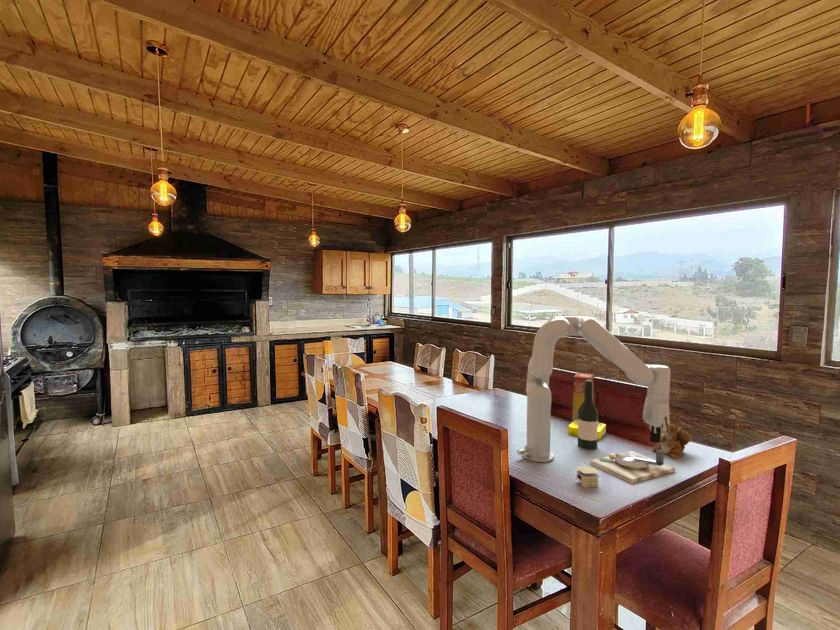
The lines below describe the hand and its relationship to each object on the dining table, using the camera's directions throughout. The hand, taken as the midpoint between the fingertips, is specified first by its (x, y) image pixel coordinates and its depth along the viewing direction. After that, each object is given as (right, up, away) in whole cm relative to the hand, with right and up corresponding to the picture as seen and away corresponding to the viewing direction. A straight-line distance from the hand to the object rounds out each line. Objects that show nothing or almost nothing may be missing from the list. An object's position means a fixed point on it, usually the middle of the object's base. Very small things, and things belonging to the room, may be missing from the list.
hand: (654, 442), depth 163 cm
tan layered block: (-33, -11, -15) cm, 38 cm away
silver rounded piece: (-9, -8, -2) cm, 12 cm away
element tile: (-11, -8, +40) cm, 42 cm away
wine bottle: (-18, -9, +21) cm, 29 cm away
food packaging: (-6, -7, +59) cm, 60 cm away
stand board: (-10, -10, -1) cm, 14 cm away
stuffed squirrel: (+16, -9, +14) cm, 23 cm away
